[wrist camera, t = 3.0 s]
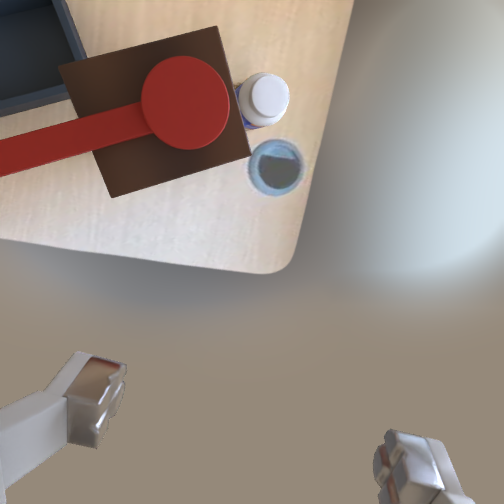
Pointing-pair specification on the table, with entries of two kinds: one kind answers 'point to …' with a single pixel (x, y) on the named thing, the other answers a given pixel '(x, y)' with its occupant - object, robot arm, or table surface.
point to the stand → (129, 91)
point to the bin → (35, 53)
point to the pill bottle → (262, 100)
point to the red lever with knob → (134, 118)
